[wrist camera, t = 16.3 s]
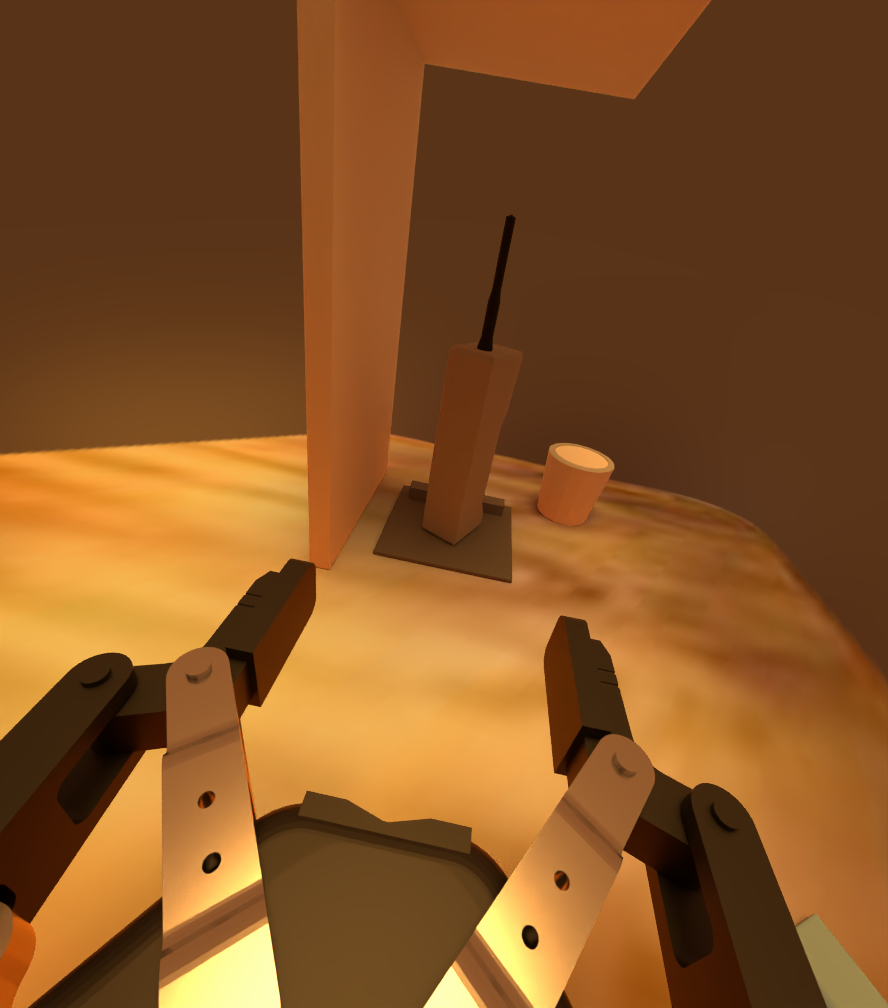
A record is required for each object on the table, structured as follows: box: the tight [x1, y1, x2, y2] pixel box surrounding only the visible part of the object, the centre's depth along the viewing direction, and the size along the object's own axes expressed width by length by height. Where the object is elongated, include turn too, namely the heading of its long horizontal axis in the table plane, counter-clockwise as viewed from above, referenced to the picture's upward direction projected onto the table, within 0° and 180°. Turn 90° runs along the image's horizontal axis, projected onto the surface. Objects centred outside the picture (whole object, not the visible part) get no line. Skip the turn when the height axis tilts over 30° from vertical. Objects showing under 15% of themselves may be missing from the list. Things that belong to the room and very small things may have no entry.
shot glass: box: [537, 443, 614, 526], centre depth 44 cm, size 7×7×7 cm
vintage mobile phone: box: [422, 215, 523, 545], centre depth 33 cm, size 4×5×25 cm
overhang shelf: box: [297, 0, 711, 583], centre depth 30 cm, size 17×18×36 cm
